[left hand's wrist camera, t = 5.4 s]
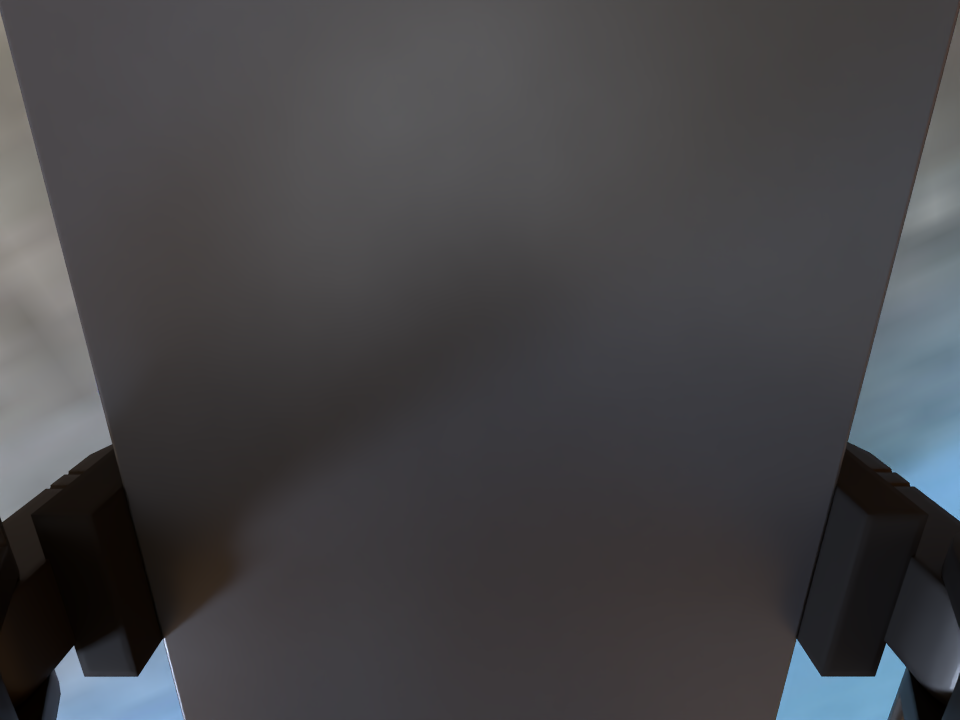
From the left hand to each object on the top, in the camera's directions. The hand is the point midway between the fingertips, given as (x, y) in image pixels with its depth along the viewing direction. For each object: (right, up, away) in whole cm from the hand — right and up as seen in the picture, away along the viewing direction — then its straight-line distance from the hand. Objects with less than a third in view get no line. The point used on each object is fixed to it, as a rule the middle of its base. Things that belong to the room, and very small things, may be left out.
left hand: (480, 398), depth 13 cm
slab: (0, +22, -7) cm, 23 cm away
